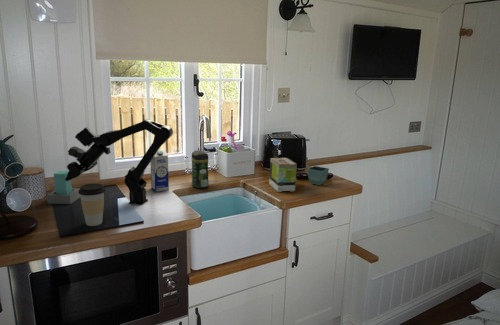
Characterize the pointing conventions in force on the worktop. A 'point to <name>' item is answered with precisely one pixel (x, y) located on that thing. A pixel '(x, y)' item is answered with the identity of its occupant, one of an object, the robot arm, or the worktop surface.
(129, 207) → the worktop surface
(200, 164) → the coffee jar
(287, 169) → the tea box
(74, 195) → the socket block
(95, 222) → the coffee cup
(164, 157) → the milk carton
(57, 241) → the worktop surface
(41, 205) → the worktop surface
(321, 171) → the flower pot
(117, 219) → the worktop surface
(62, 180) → the teal peg
